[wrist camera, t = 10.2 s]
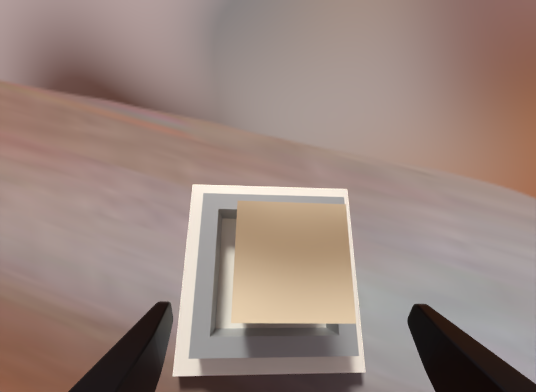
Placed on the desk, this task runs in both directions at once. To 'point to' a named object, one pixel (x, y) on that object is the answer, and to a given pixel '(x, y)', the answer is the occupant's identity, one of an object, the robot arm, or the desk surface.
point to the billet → (292, 264)
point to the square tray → (221, 289)
